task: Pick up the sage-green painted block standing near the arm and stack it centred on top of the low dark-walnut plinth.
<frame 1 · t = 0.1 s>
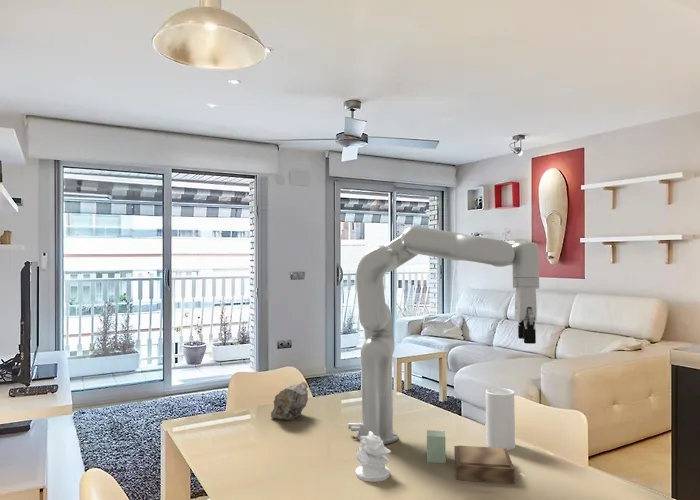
hand: (526, 340, 149), 31 cm above the table, fingers open, 9 cm apart
figurine: (373, 475, 129), on the table
plinth: (482, 470, 131), on the table
cup: (500, 445, 149), on the table
block: (436, 459, 139), on the table
rock: (289, 418, 177), on the table
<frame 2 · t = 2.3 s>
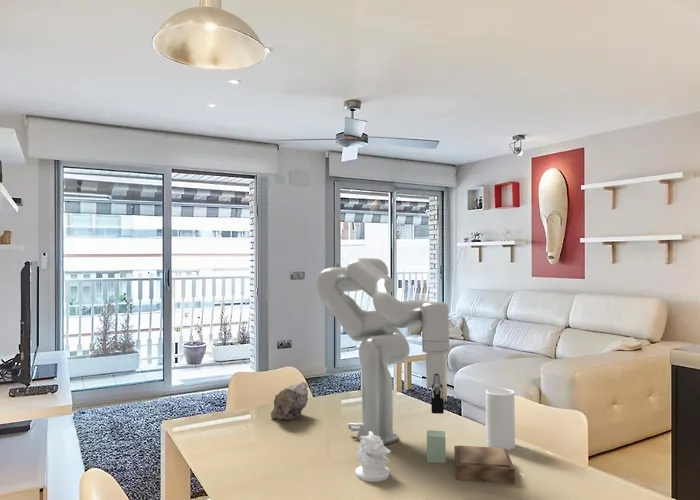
hand: (437, 408, 139), 14 cm above the table, fingers open, 9 cm apart
nothing on the table moved.
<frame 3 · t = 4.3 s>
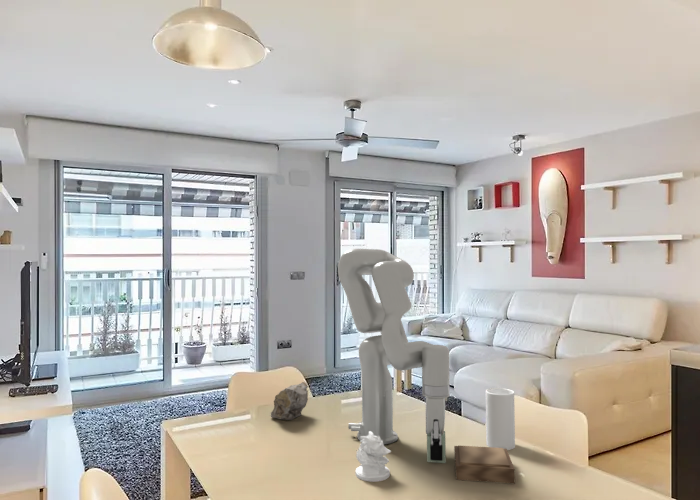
hand: (436, 455, 139), 1 cm above the table, fingers closed on block, 5 cm apart
block: (436, 458, 139), on the table, touching gripper
everything else where it was.
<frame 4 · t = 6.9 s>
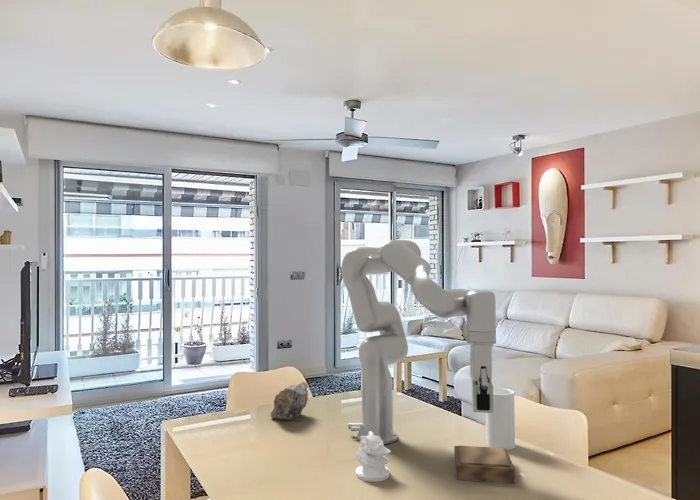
hand: (482, 406, 131), 17 cm above the table, fingers closed on block, 5 cm apart
block: (482, 409, 131), point 16 cm above the table, touching gripper
everything else where it was.
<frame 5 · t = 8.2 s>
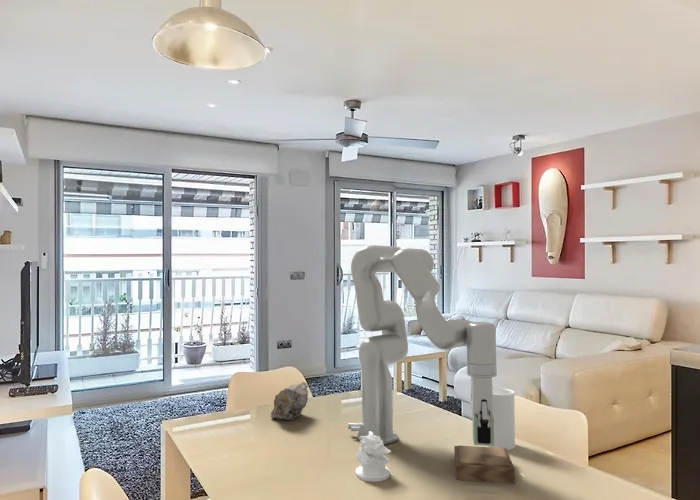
hand: (483, 438, 131), 8 cm above the table, fingers closed on block, 5 cm apart
block: (483, 442, 131), point 7 cm above the table, touching gripper
everything else where it was.
when the fingers open (7 cm above the table, at t = 9.4 s): block drops 2 cm, resting on plinth.
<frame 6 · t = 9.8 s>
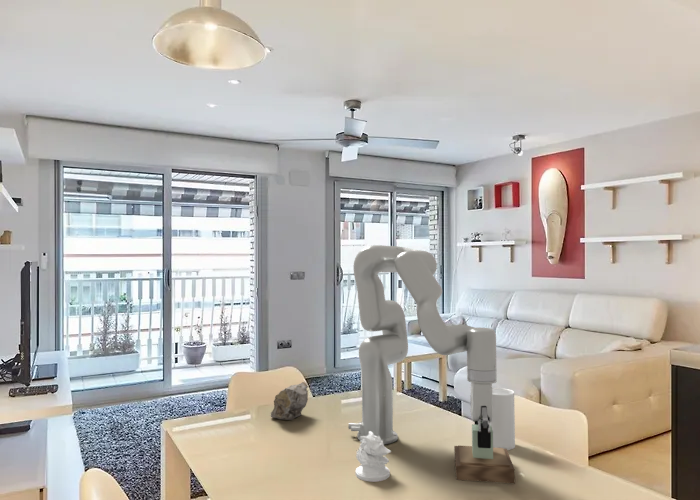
hand: (482, 441, 131), 8 cm above the table, fingers open, 9 cm apart
block: (482, 454, 131), point 4 cm above the table, touching plinth
everything else where it was.
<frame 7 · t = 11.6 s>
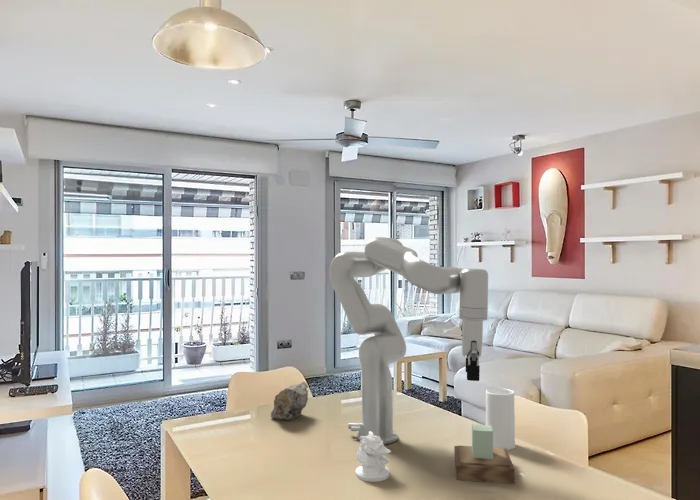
hand: (472, 376, 137), 23 cm above the table, fingers open, 9 cm apart
nothing on the table moved.
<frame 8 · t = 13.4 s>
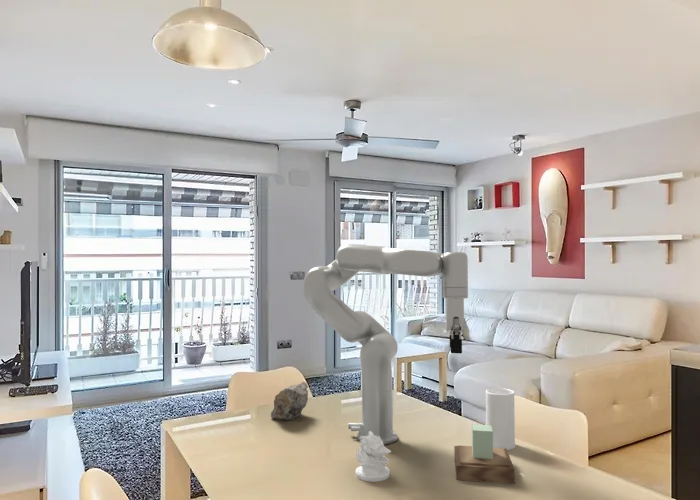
hand: (455, 350, 150), 28 cm above the table, fingers open, 9 cm apart
nothing on the table moved.
at the end: block inside the target area on the plinth (0.0 cm from its centre), point 4.0 cm above the plinth's base; block tilted 0°; the gripper is holding nothing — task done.
